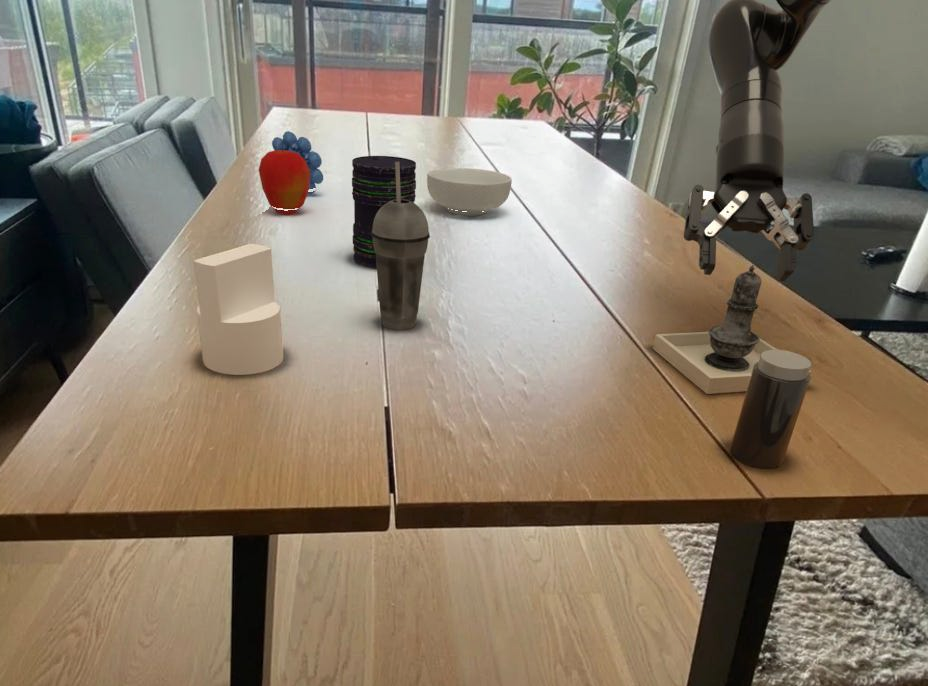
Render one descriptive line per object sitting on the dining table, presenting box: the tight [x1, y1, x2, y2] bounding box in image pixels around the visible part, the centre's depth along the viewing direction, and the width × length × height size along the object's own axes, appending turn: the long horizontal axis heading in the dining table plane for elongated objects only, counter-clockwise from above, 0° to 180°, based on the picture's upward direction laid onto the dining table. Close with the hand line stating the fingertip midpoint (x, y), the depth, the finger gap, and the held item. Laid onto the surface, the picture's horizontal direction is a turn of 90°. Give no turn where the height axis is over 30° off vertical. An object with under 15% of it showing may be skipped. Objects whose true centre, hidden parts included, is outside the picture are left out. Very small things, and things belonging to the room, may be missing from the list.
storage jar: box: [351, 155, 417, 270], centre depth 120 cm, size 10×10×15 cm
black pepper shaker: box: [729, 349, 812, 469], centre depth 72 cm, size 5×5×10 cm
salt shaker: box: [705, 264, 762, 372], centre depth 90 cm, size 6×6×12 cm
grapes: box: [271, 130, 324, 195], centre depth 156 cm, size 12×7×12 cm, turn 75°
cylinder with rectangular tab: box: [193, 243, 284, 376], centre depth 85 cm, size 9×9×12 cm
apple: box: [258, 146, 310, 216], centre depth 144 cm, size 9×9×12 cm
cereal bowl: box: [426, 167, 513, 217], centre depth 153 cm, size 17×17×7 cm
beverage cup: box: [371, 162, 431, 331], centre depth 95 cm, size 7×7×20 cm
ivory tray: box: [652, 331, 812, 395], centre depth 93 cm, size 13×13×2 cm
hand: (746, 274), depth 89 cm, fingers open, 8 cm apart
